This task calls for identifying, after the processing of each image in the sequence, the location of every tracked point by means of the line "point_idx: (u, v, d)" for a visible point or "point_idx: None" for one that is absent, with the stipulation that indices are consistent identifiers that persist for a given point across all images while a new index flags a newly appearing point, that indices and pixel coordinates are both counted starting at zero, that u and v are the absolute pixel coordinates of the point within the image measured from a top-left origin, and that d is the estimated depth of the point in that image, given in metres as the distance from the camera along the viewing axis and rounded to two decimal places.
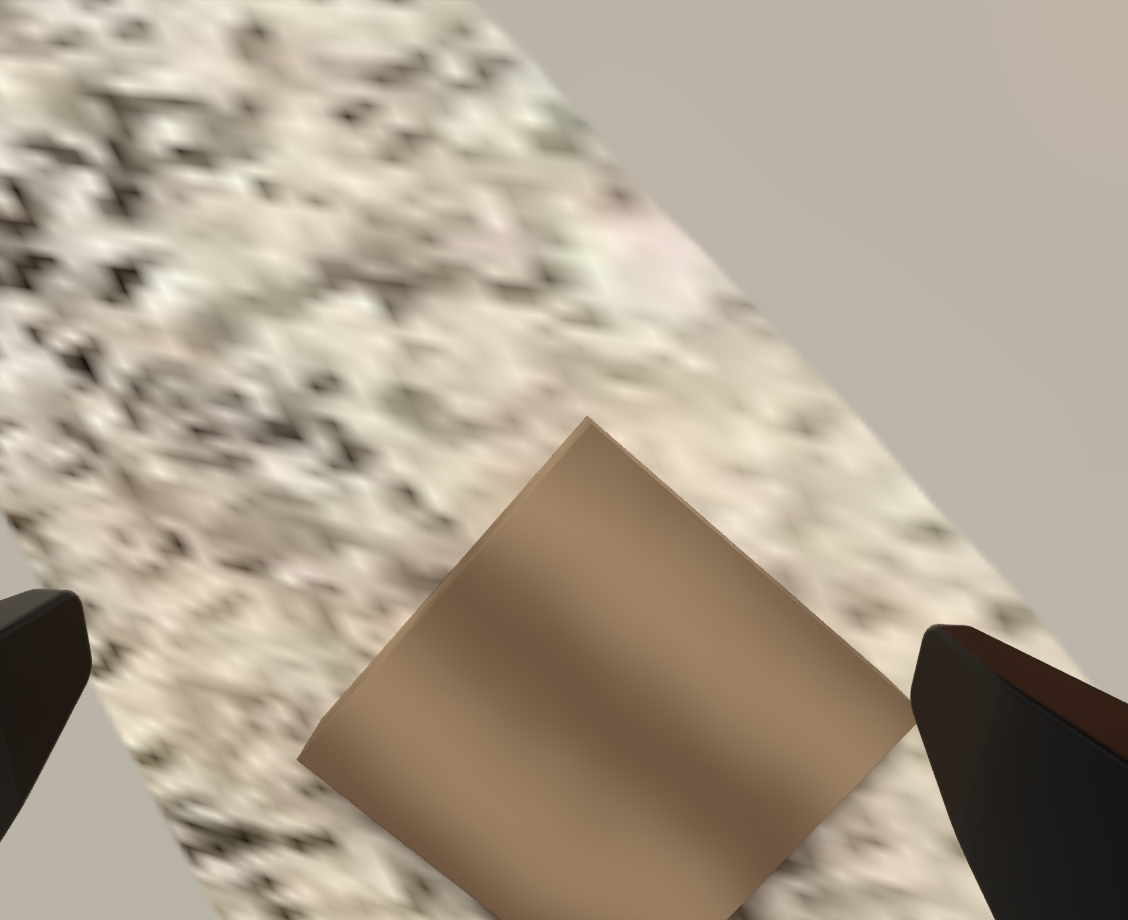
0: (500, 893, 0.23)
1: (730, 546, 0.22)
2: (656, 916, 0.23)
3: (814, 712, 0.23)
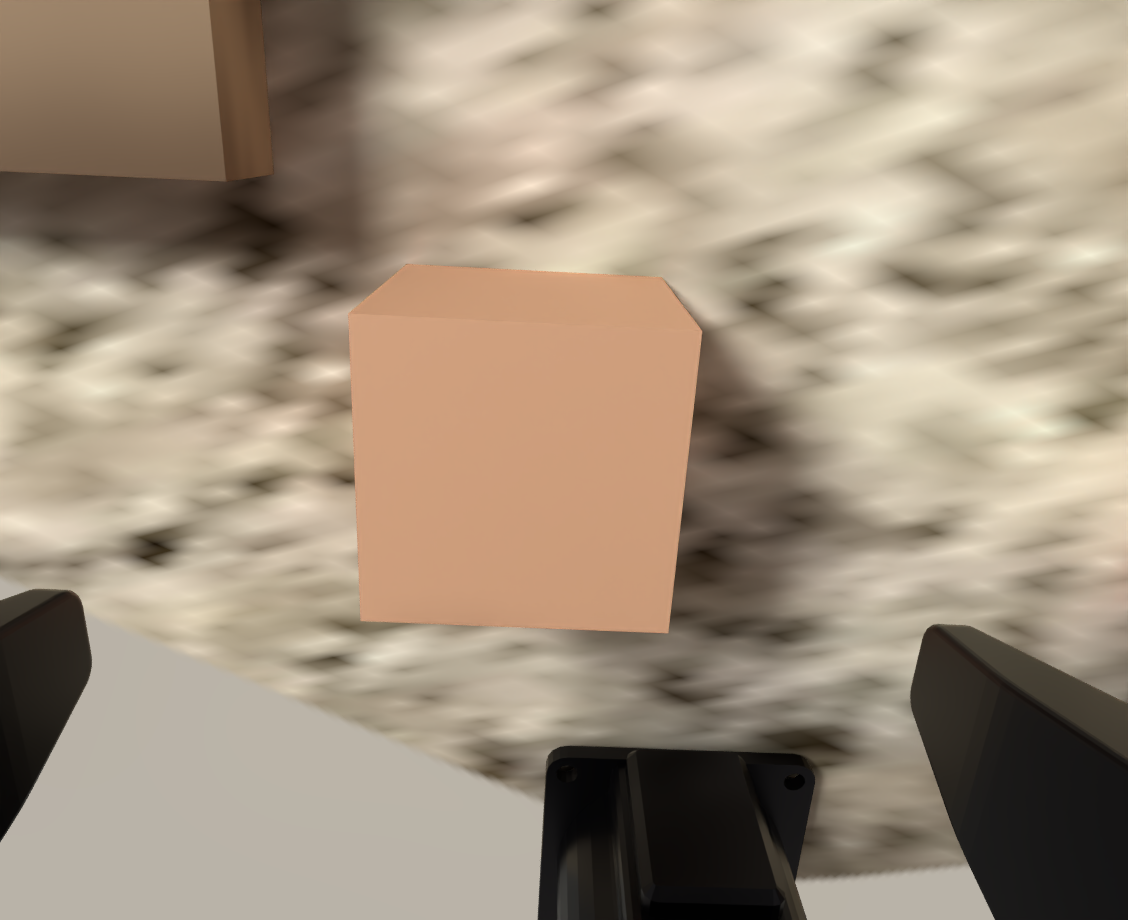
0: None
1: None
2: None
3: None
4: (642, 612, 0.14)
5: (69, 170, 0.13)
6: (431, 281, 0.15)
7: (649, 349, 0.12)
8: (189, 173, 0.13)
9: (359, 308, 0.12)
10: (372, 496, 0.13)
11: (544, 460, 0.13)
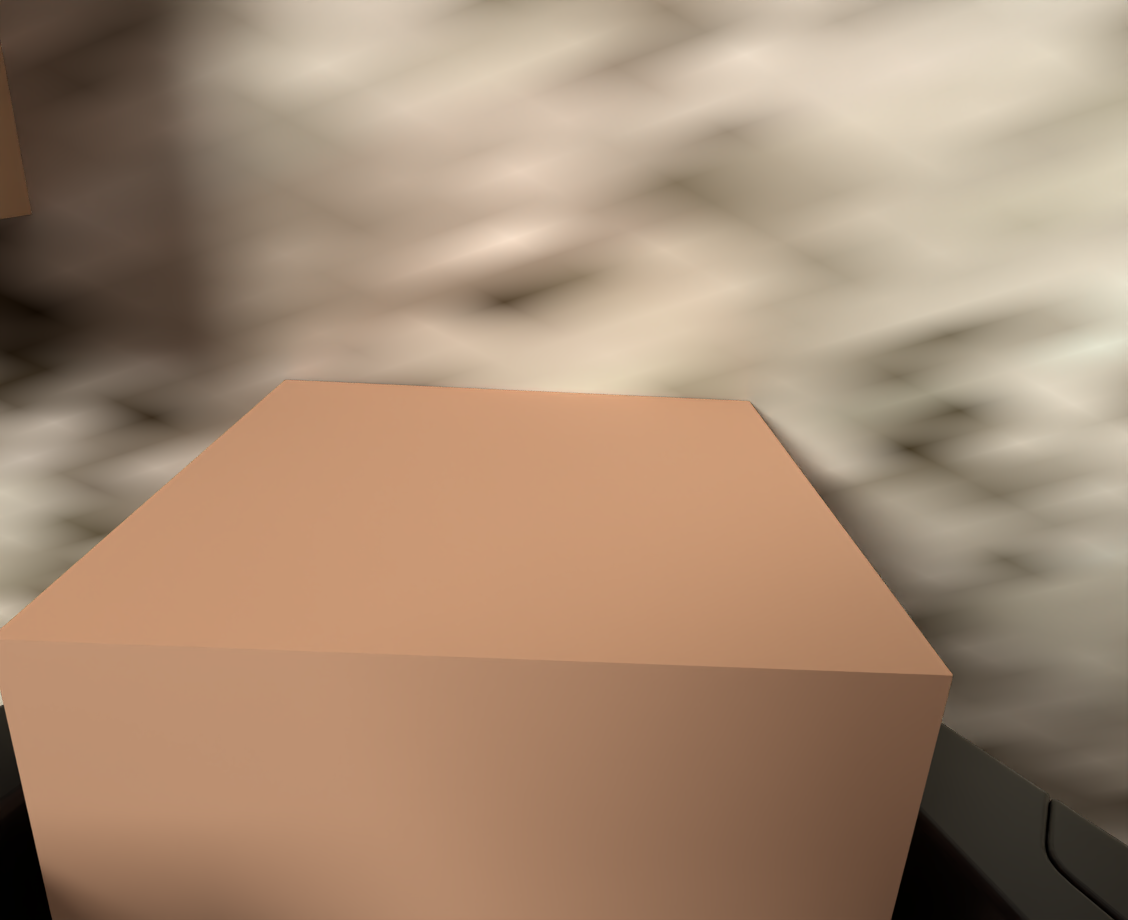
0: None
1: None
2: None
3: None
4: None
5: None
6: (303, 444, 0.07)
7: (809, 718, 0.04)
8: None
9: (45, 602, 0.05)
10: None
11: None
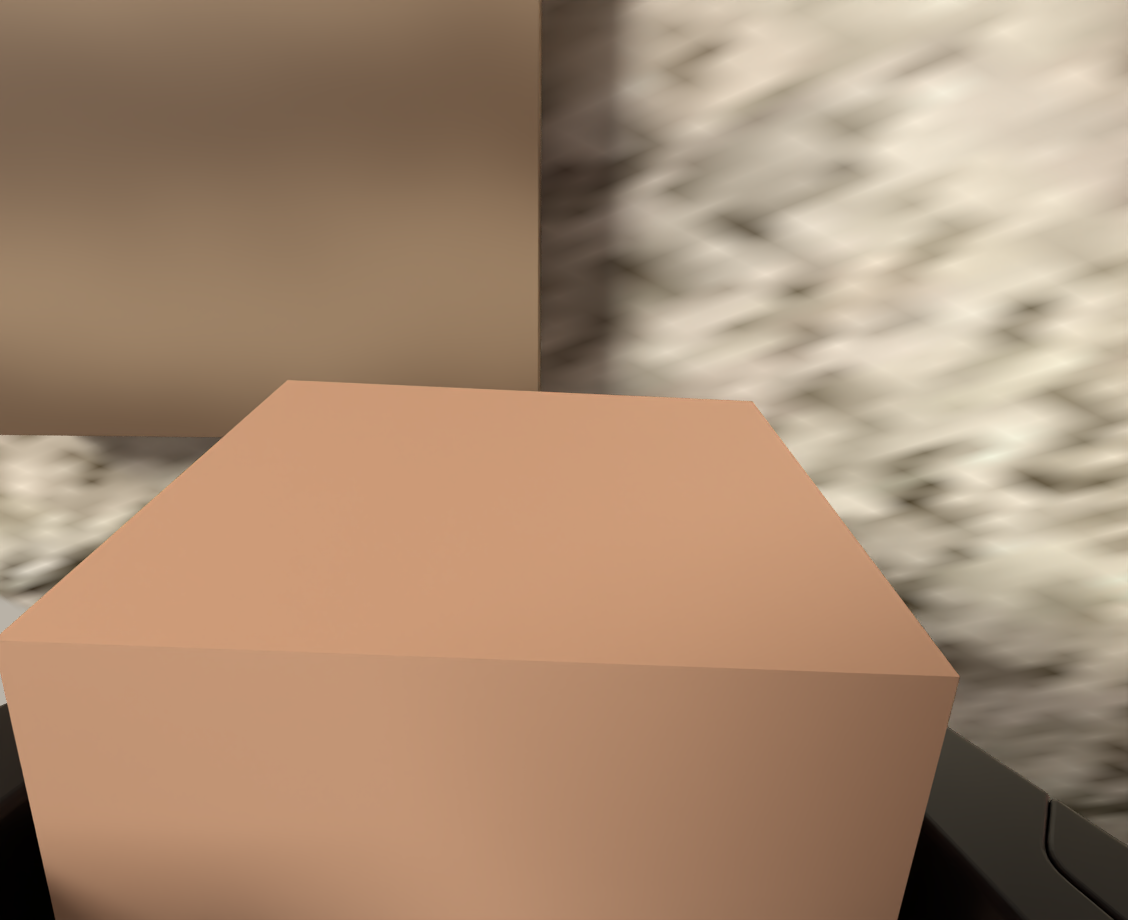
0: None
1: None
2: (459, 303, 0.17)
3: None
4: None
5: None
6: (306, 445, 0.07)
7: (815, 719, 0.04)
8: None
9: (49, 603, 0.05)
10: None
11: None
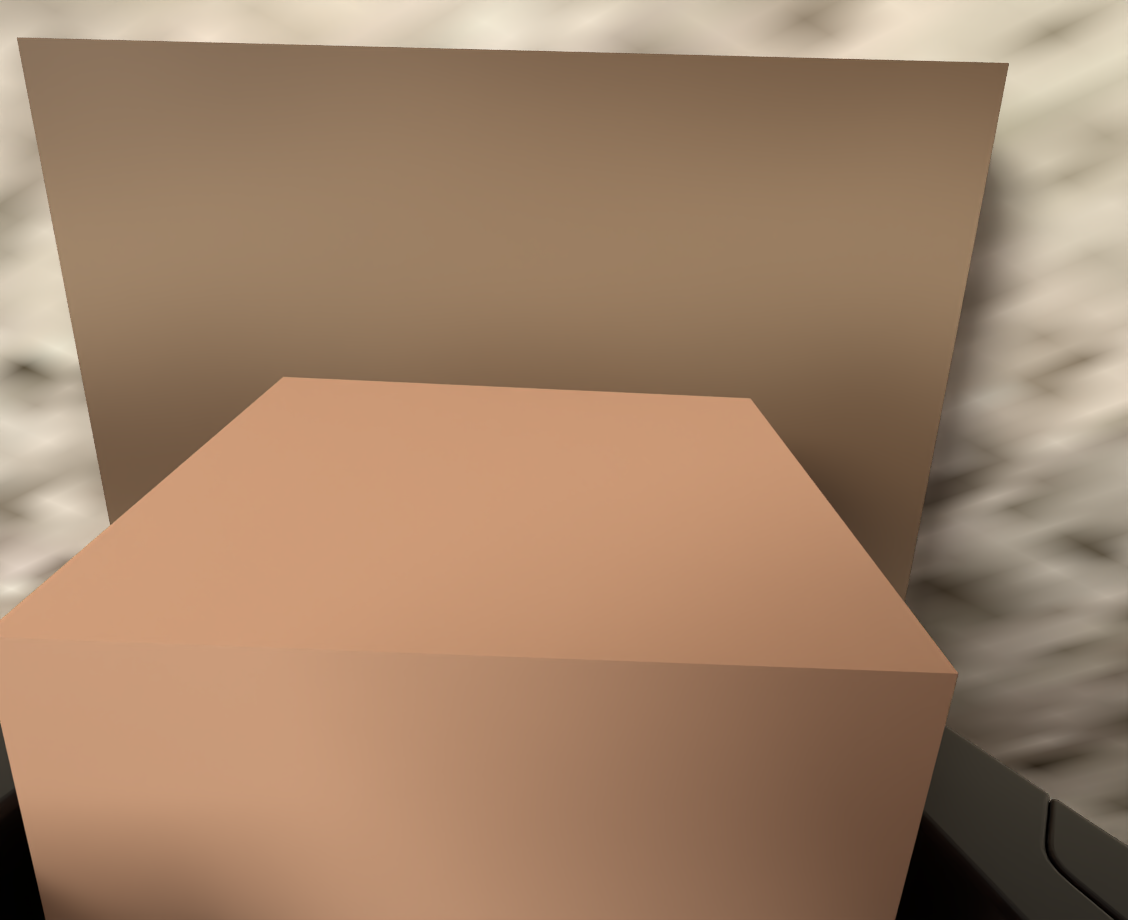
0: None
1: (426, 51, 0.10)
2: None
3: (801, 221, 0.11)
4: None
5: None
6: (300, 441, 0.07)
7: (812, 716, 0.04)
8: None
9: (38, 599, 0.05)
10: None
11: None
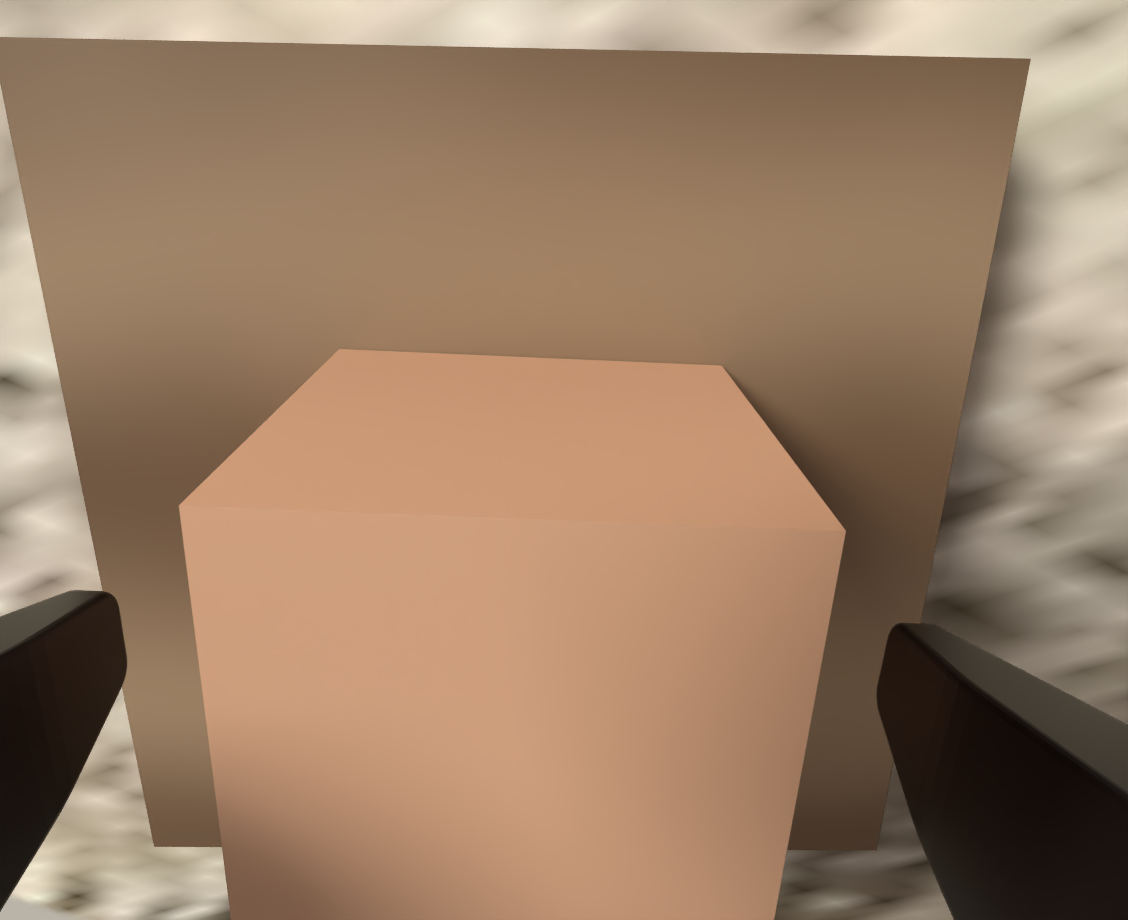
0: None
1: (418, 49, 0.10)
2: None
3: (812, 225, 0.10)
4: None
5: None
6: (365, 394, 0.09)
7: (747, 562, 0.06)
8: (841, 843, 0.14)
9: (208, 486, 0.07)
10: (246, 802, 0.07)
11: (549, 745, 0.07)
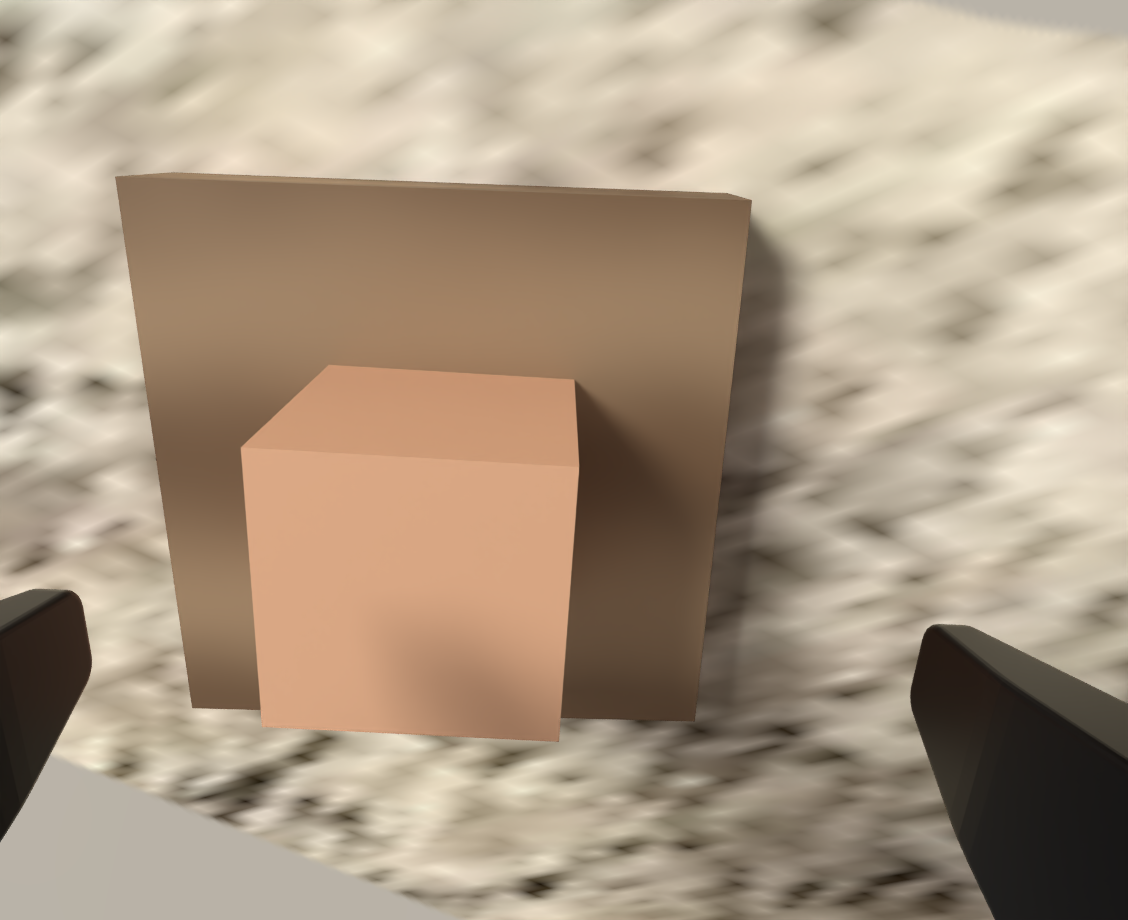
0: None
1: (376, 187, 0.16)
2: (637, 615, 0.19)
3: (623, 297, 0.17)
4: (532, 722, 0.14)
5: (593, 717, 0.20)
6: (342, 393, 0.15)
7: (530, 482, 0.13)
8: (670, 716, 0.20)
9: (254, 439, 0.13)
10: (269, 613, 0.13)
11: (432, 582, 0.13)
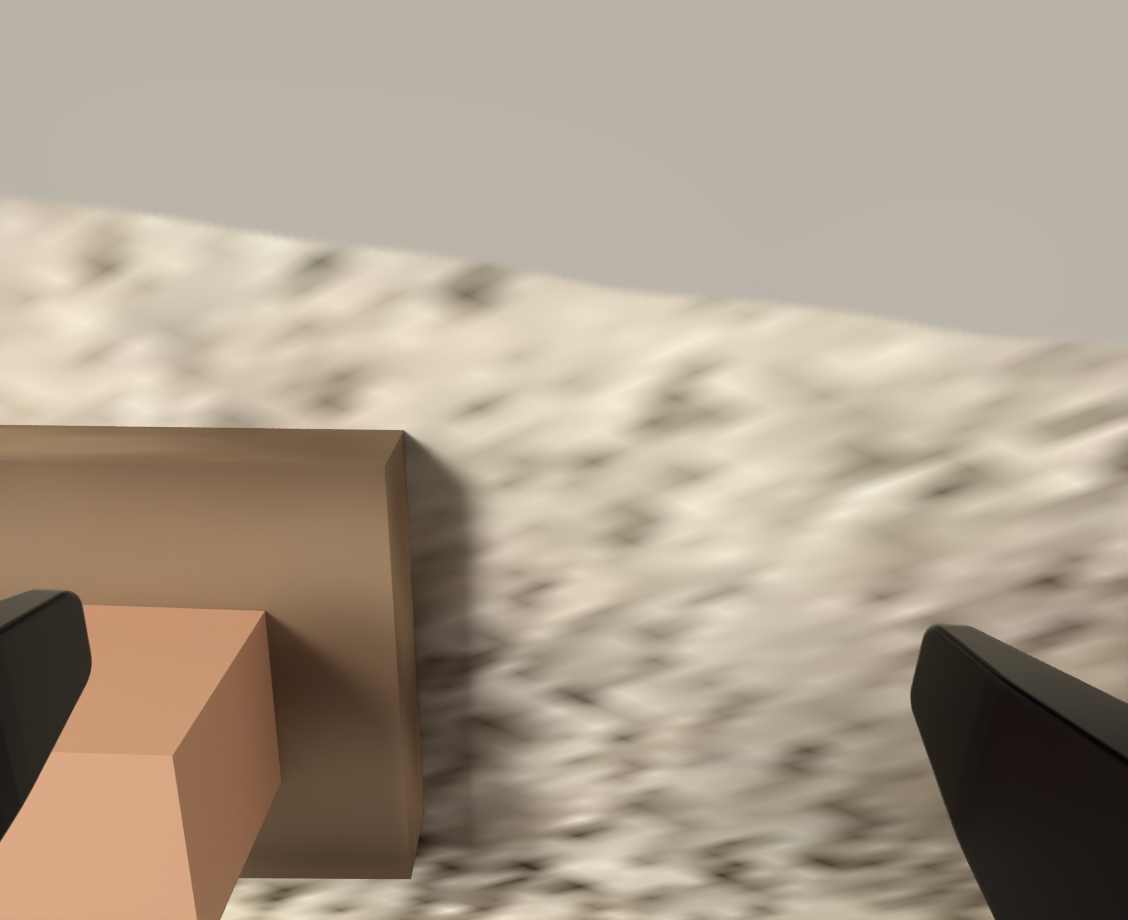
0: None
1: (59, 462, 0.18)
2: (344, 794, 0.22)
3: (287, 543, 0.19)
4: None
5: (319, 877, 0.23)
6: None
7: (134, 768, 0.15)
8: (389, 875, 0.23)
9: None
10: None
11: (69, 841, 0.16)
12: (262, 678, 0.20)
